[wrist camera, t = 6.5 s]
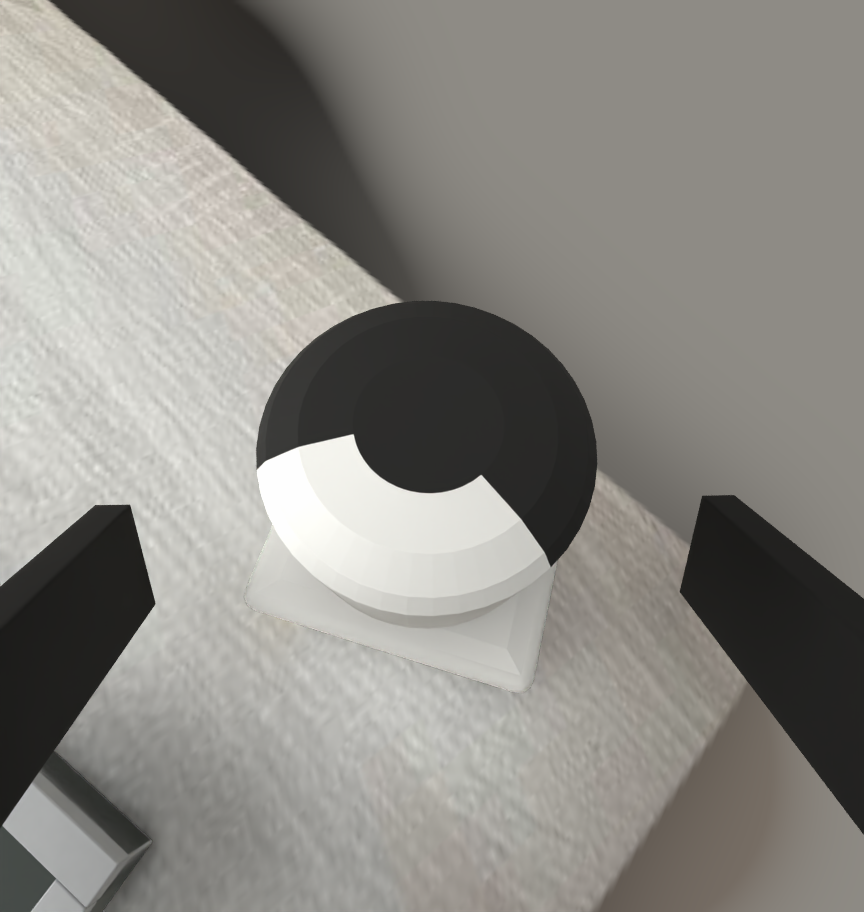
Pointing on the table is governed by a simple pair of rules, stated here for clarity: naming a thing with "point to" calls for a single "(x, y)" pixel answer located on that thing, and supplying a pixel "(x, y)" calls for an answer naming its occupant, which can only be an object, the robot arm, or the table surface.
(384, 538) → the medicine bottle
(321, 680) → the table surface
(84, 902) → the chalkboard
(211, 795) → the table surface
